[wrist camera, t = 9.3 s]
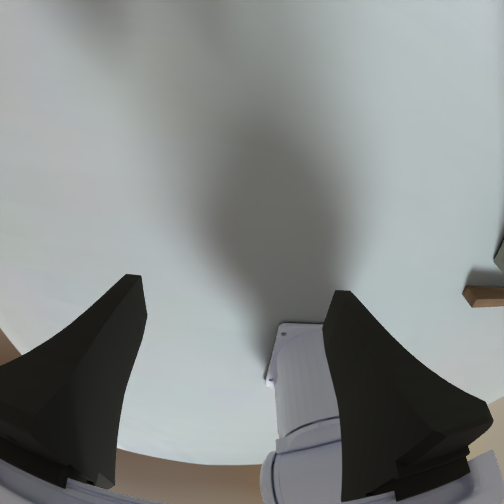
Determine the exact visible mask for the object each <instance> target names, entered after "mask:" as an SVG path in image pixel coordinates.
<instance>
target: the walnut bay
mask: <svg viewBox="0 0 504 504" xmlns="http://www.w3.org/2000/svg"><path fill="white" fill-rule="evenodd" d="M462 295H463V296H464V297H465V299H466V300H467V302H468V303H469V304H470V306H471V307H472V308H475V307H497V306H504V287H475V286H466V288H465V290H464V292H463V294H462Z"/></svg>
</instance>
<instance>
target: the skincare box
mask: <svg viewBox="0 0 504 504" xmlns="http://www.w3.org/2000/svg"><path fill="white" fill-rule="evenodd" d="M494 263H495V264H496V265H497V266H498V268H499V269H500V270H501V271H502V272H503V273H504V241H503V243H502V245H501V247H500V249H499V251H498V254H497V255H496V257H495V259H494Z"/></svg>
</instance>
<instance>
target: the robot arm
mask: <svg viewBox="0 0 504 504" xmlns="http://www.w3.org/2000/svg"><path fill="white" fill-rule="evenodd" d="M146 320H147V310H146V304H145V298H144V291H143V284H142V277H141V276H140V275H131V274H126V275H125V276H123V277H122V278H121V279H120V280H119V281H118V282H117V283H116V284H115V285H114V286H112V287H111V288H110V289H109V290H108V291H107V292H106V293H105V294H104V295H103V296H102V297H101V298H100V299H99V300H97V301H96V302H95V303H94V304H93V305H92V306H91V307H90V308H89V309H87V310H86V311H85V312H84V313H83V314H82V315H80V316H79V317H78V318H77V319H76V320H75V321H73V322H72V323H71V324H70V325H68V326H67V327H66V328H64V329H63V330H62V331H60V332H59V333H58V334H56V335H55V336H53V337H52V338H50V339H49V340H47V341H46V342H44V343H43V344H41V345H39V346H38V347H36V348H34V349H33V350H31V351H30V352H28V353H26V354H24V355H22V356H20V357H18V358H16V359H14V360H12V361H10V362H8V363H6V364H4V365H1V366H0V504H168V503H162V502H156V501H150V500H145V499H140V498H136V497H131V496H127V495H123V494H119V493H115V492H111V491H108V490H104V489H110V488H112V487H113V486H114V485H115V460H116V448H117V437H118V429H119V422H120V415H121V410H122V404H123V399H124V394H125V390H126V386H127V383H128V380H129V377H130V374H131V371H132V368H133V365H134V362H135V359H136V356H137V353H138V350H139V347H140V345H141V342H142V338H143V334H144V330H145V325H146ZM283 332H285V333H283ZM265 386H266V387H275V398H276V412H277V426H278V434H279V438H280V439H277V440H276V451H272V452H270V453H269V454H268V456H267V457H266V459H265V461H264V462H263V464H262V468H261V472H260V489H261V495H262V499H263V502H264V504H501V503H502V502H503V501H504V482H503V478H502V475H501V472H500V469H499V466H498V463H497V459H496V457H495V454H494V451H493V450H490V451H488V452H486V453H484V454H481V455H479V456H477V457H475V458H473V459H471V460H470V461H468V462H467V459H466V456H467V455H468V454H469V453H470V451H469V448H468V445H469V444H471V443H472V442H473V441H475V440H476V439H477V438H478V437H480V436H481V435H482V434H483V433H485V432H486V431H487V430H488V429H489V428H490V427H491V425H492V423H493V418H492V416H491V413H490V411H489V409H488V406H487V404H486V402H485V401H483V400H481V399H479V398H477V397H475V396H472V395H470V394H468V393H466V392H464V391H463V390H461V389H459V388H457V387H456V386H454V385H452V384H451V383H449V382H447V381H446V380H444V379H443V378H441V377H440V376H438V375H437V374H436V373H434V372H433V371H432V370H430V369H429V368H427V367H426V366H425V365H424V364H422V363H421V362H420V361H419V360H417V359H416V358H415V357H414V356H413V355H412V354H410V353H409V352H408V351H407V350H406V349H405V348H404V347H403V346H402V345H401V344H400V343H399V342H398V341H397V340H396V339H395V338H393V337H392V336H391V335H390V333H389V332H388V331H387V330H386V329H385V328H384V327H383V326H382V325H381V324H380V323H379V322H378V321H377V320H376V319H375V317H374V316H373V315H372V314H371V313H370V312H369V311H368V310H367V309H366V307H365V306H364V305H363V304H362V303H361V302H360V301H359V300H358V299H357V297H356V296H355V295H354V294H353V293H352V292H351V291H343V290H335V293H334V296H333V299H332V302H331V304H330V307H329V310H328V313H327V316H326V319H325V321H324V324H294V323H283V324H281V325H279V327H278V332H277V336H276V340H275V344H274V348H273V352H272V356H271V360H270V364H269V368H268V372H267V376H266V380H265ZM88 484H89V485H88ZM91 485H92V486H91ZM94 486H97V487H100V488H97V487H94ZM101 488H103V489H101Z"/></svg>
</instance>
